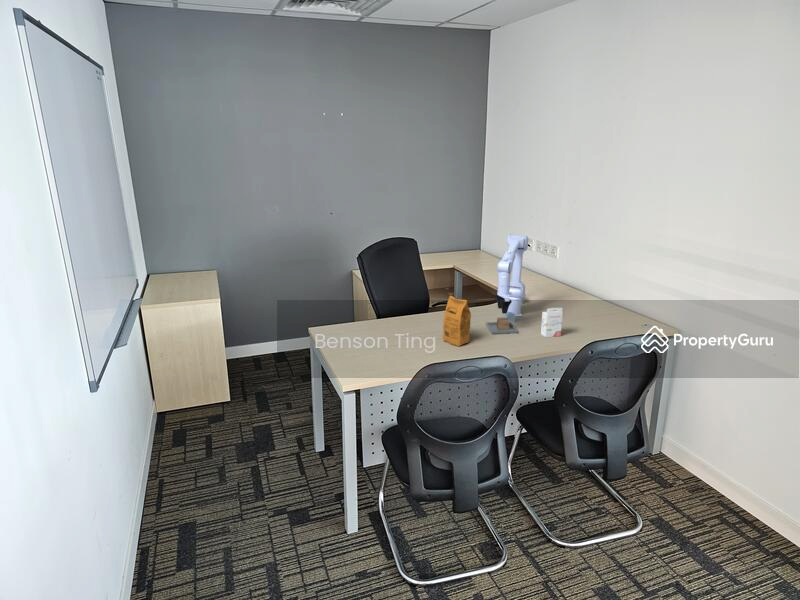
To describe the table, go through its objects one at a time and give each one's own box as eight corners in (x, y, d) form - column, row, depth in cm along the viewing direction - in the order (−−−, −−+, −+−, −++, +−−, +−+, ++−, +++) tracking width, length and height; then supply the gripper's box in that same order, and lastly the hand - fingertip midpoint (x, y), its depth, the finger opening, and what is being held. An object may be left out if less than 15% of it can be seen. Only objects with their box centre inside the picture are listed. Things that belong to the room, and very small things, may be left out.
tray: (485, 325, 272) (485, 322, 271) (510, 324, 273) (510, 321, 272) (491, 334, 259) (492, 331, 259) (517, 333, 261) (517, 330, 260)
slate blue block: (502, 320, 278) (503, 312, 277) (509, 319, 280) (510, 311, 279) (507, 323, 274) (508, 315, 273) (514, 322, 276) (515, 314, 275)
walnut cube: (496, 326, 268) (497, 317, 267) (506, 326, 269) (506, 317, 267) (499, 330, 264) (499, 320, 262) (508, 329, 264) (509, 320, 262)
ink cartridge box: (556, 332, 262) (558, 304, 257) (561, 336, 257) (563, 307, 253) (540, 333, 260) (542, 305, 256) (544, 337, 255) (547, 308, 251)
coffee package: (454, 335, 258) (455, 292, 252) (472, 342, 249) (474, 298, 242) (439, 340, 252) (440, 296, 246) (457, 348, 243) (459, 302, 236)
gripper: (516, 288, 252) (514, 315, 257) (507, 280, 266) (506, 306, 270) (501, 289, 252) (500, 315, 256) (494, 280, 266) (492, 306, 270)
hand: (502, 310), depth 263 cm, fingers open, 7 cm apart
